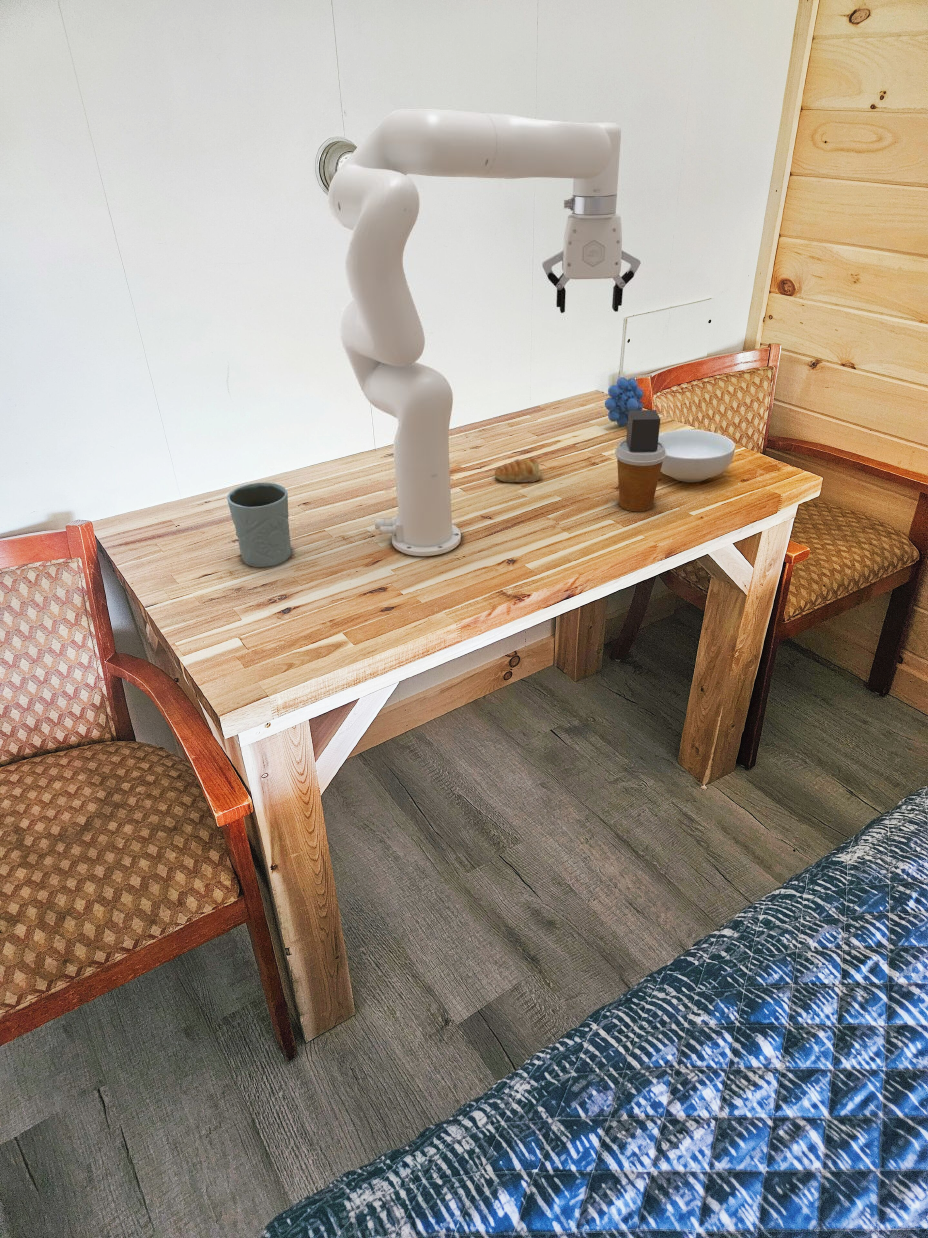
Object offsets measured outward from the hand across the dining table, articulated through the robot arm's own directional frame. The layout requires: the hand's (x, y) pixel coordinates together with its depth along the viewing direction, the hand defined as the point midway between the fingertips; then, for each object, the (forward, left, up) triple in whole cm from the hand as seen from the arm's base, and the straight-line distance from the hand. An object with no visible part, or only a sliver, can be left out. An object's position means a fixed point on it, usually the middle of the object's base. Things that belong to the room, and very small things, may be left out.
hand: (588, 310), depth 150 cm
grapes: (+14, +33, -34) cm, 50 cm away
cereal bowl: (+23, +4, -34) cm, 42 cm away
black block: (+10, -10, -22) cm, 26 cm away
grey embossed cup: (-58, -29, -34) cm, 73 cm away
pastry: (-12, +4, -34) cm, 37 cm away
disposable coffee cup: (+10, -10, -34) cm, 37 cm away
